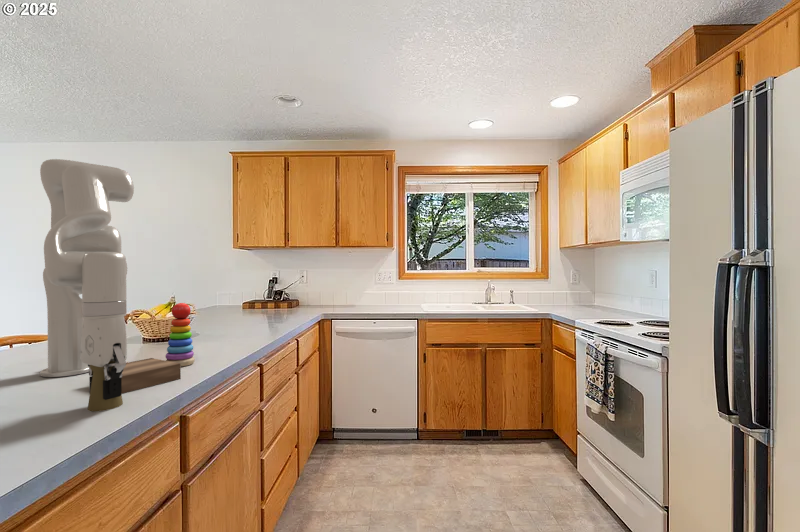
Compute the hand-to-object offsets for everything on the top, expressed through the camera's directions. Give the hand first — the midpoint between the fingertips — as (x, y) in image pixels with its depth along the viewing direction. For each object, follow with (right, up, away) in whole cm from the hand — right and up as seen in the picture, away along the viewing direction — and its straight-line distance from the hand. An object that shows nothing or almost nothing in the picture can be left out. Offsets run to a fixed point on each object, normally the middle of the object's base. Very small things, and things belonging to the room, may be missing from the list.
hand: (105, 394), depth 83 cm
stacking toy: (-4, -3, +36) cm, 36 cm away
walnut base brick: (-5, -3, +18) cm, 19 cm away
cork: (0, -3, 0) cm, 3 cm away
